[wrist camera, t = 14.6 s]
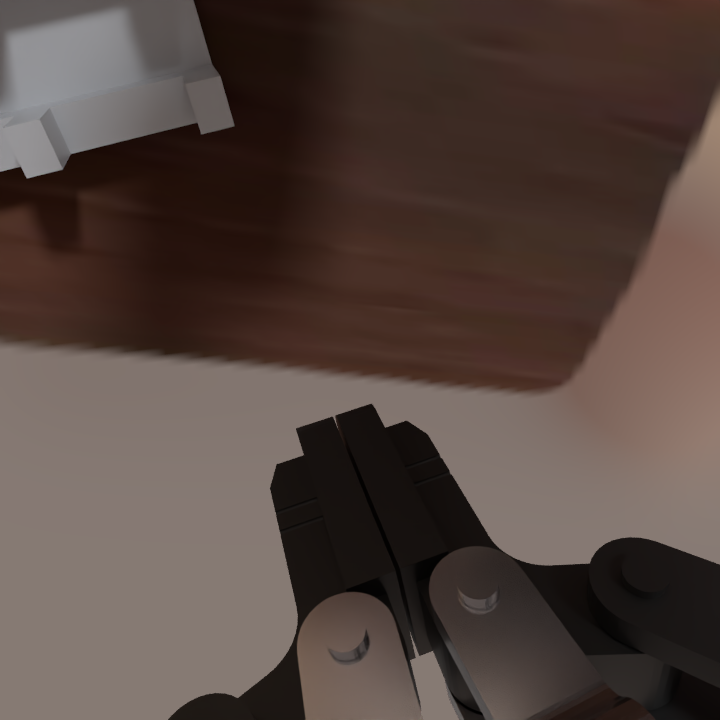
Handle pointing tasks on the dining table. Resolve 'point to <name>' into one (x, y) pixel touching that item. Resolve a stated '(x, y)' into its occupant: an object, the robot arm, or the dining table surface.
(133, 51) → the white peg rack
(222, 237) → the dining table surface
